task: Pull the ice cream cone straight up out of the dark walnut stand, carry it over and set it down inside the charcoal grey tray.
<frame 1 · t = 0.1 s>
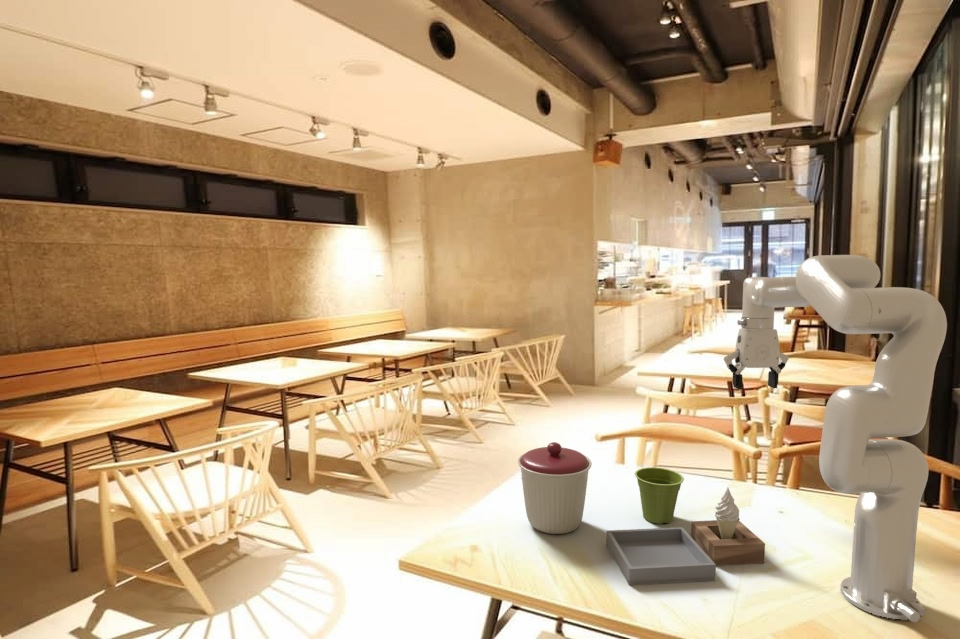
hand: (755, 387, 147), 31 cm above the table, tool pointing down, fingers open, 9 cm apart
ice cream cone: (725, 551, 125), resting in cone stand
grey tray: (657, 561, 121), on the table
plant pot: (658, 518, 141), on the table
cone stand: (725, 550, 125), on the table
canister: (554, 525, 138), on the table
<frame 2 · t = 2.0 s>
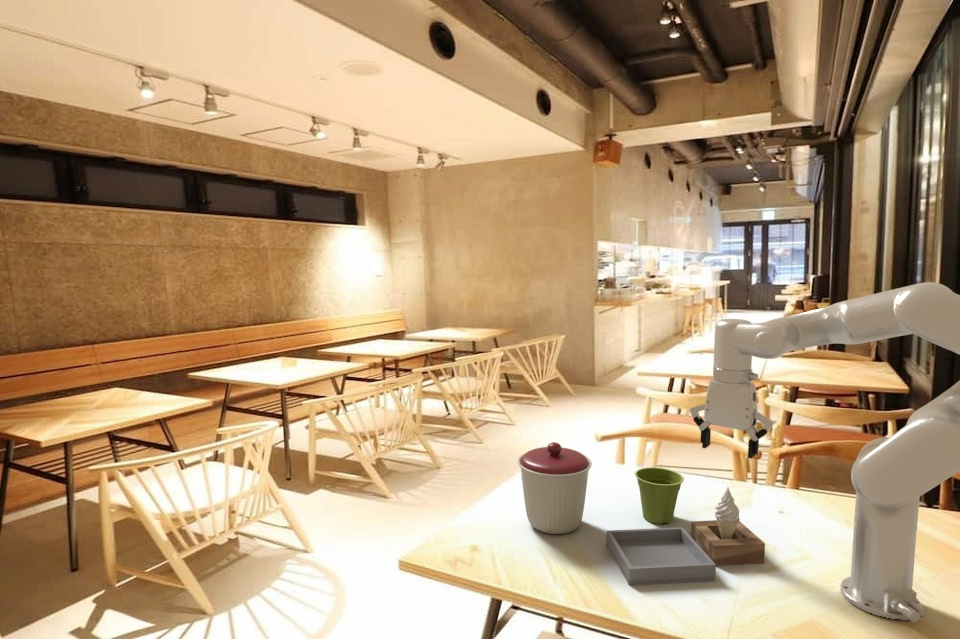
hand: (728, 451, 122), 23 cm above the table, tool pointing down, fingers open, 9 cm apart
nothing on the table moved.
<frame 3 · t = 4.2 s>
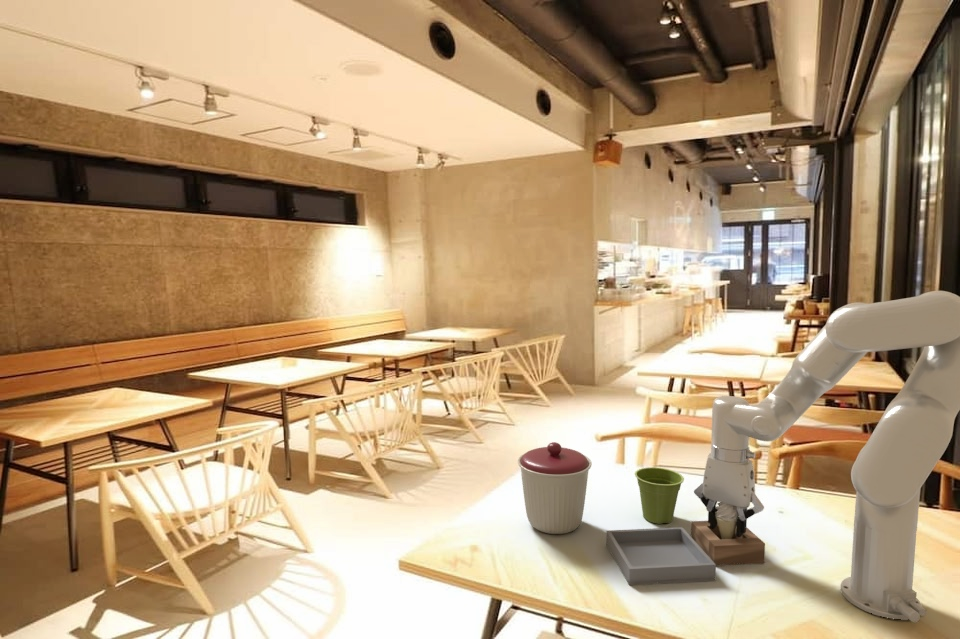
hand: (726, 530, 124), 5 cm above the table, tool pointing down, fingers closed on ice cream cone, 5 cm apart
ice cream cone: (725, 551, 125), resting in cone stand, touching gripper
everything else where it was.
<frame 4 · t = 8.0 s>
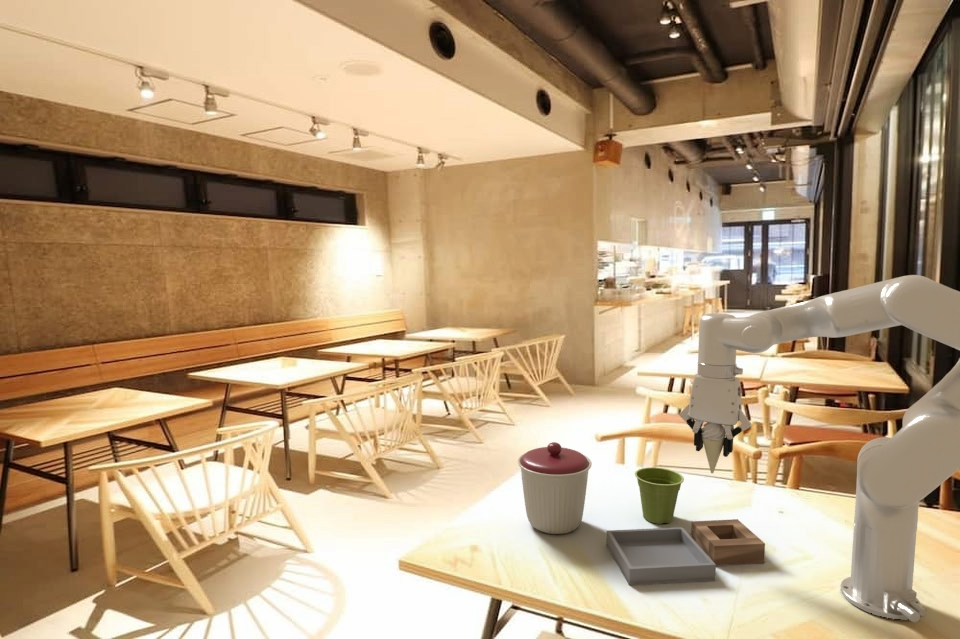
hand: (712, 451, 121), 24 cm above the table, tool pointing down, fingers closed on ice cream cone, 5 cm apart
ice cream cone: (712, 473, 122), point 18 cm above the table, touching gripper
everything else where it was.
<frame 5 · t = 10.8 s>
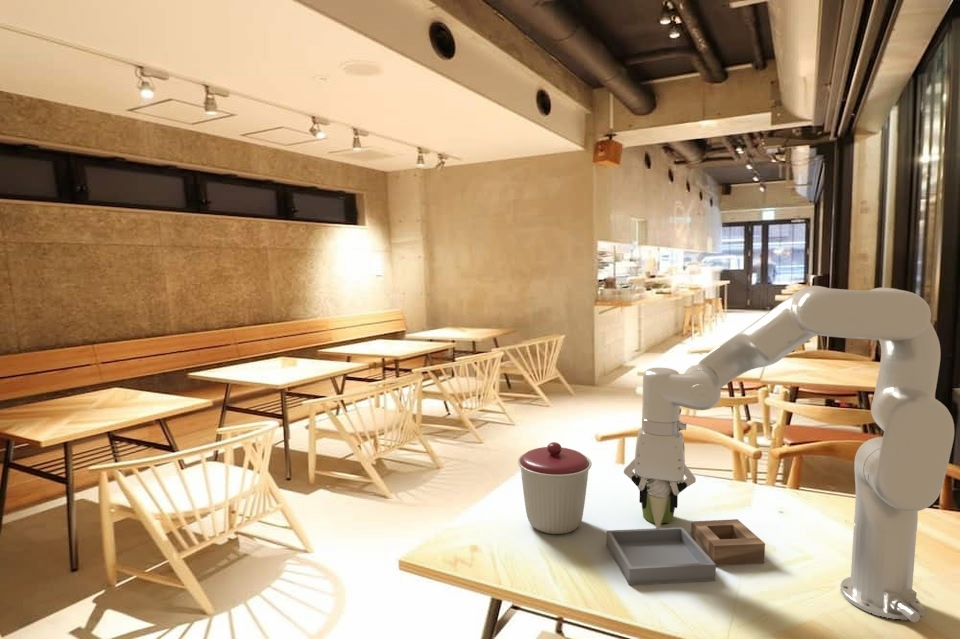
hand: (658, 507, 119), 12 cm above the table, tool pointing down, fingers closed on ice cream cone, 5 cm apart
ice cream cone: (657, 529, 120), point 7 cm above the table, touching gripper
everything else where it was.
when the fingers open (7 cm above the table, at t = 12.3 s): ice cream cone drops 1 cm, resting on grey tray.
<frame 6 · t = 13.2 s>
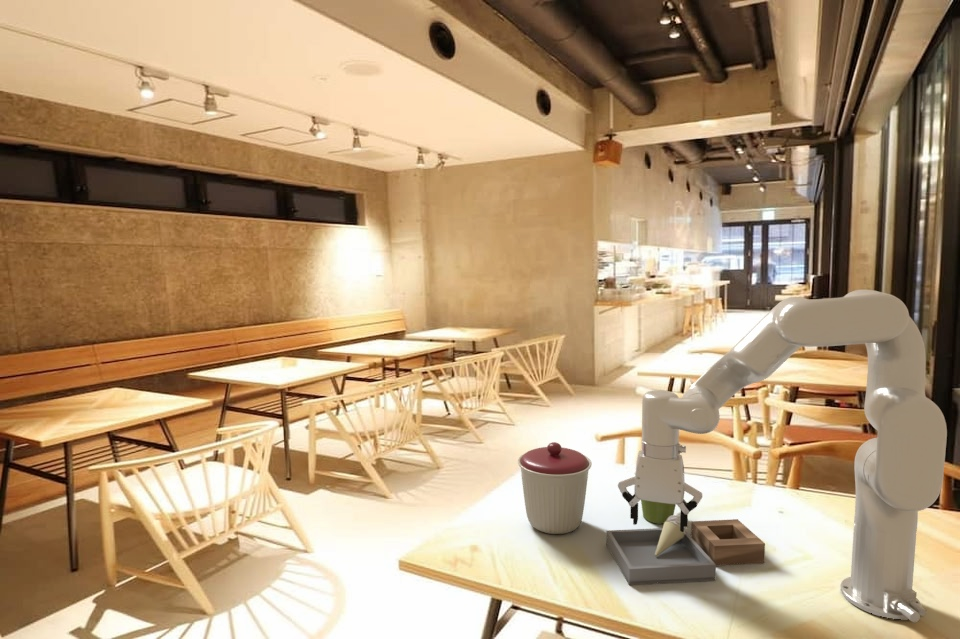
hand: (658, 525, 120), 8 cm above the table, tool pointing down, fingers open, 9 cm apart
ice cream cone: (655, 556, 121), point 1 cm above the table, touching grey tray
everything else where it was.
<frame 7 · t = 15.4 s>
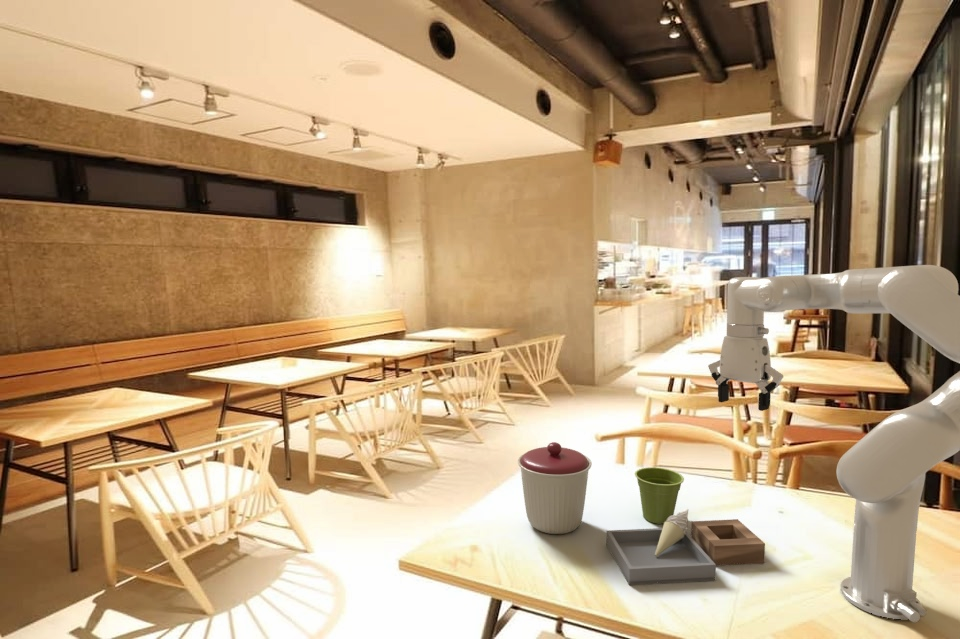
hand: (743, 405, 127), 32 cm above the table, tool pointing down, fingers open, 9 cm apart
nothing on the table moved.
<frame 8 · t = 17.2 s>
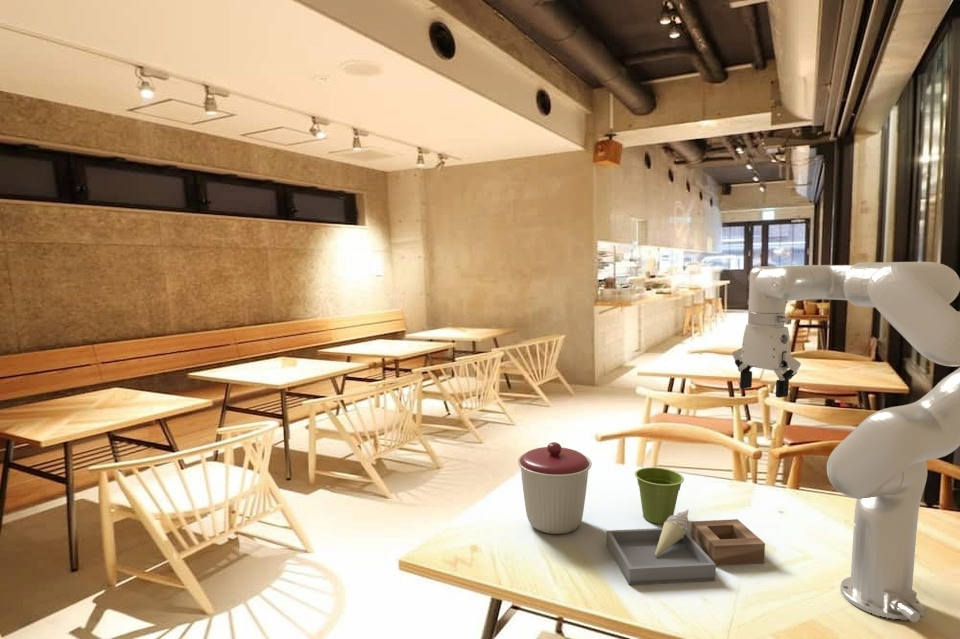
hand: (763, 392, 130), 34 cm above the table, tool pointing down, fingers open, 9 cm apart
nothing on the table moved.
at the end: ice cream cone inside the target area on the grey tray (0.5 cm from its centre), point 1.1 cm above the grey tray's base; the gripper is holding nothing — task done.
